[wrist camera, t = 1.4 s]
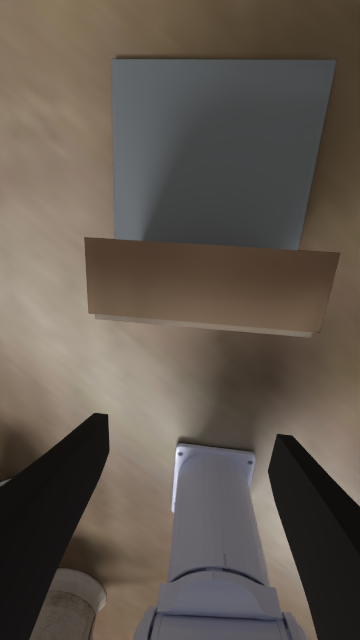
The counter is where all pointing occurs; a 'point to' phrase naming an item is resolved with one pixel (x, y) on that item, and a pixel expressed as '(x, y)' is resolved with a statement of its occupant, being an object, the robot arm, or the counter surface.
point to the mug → (70, 607)
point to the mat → (216, 149)
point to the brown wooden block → (209, 285)
